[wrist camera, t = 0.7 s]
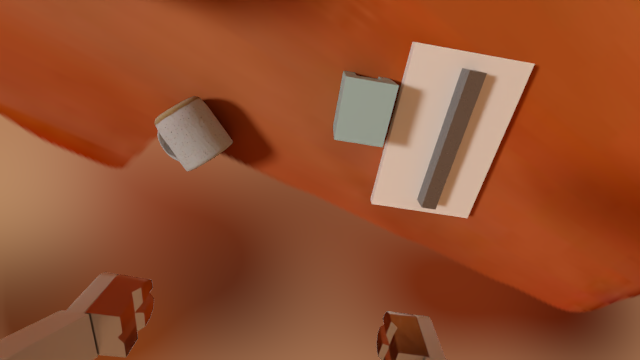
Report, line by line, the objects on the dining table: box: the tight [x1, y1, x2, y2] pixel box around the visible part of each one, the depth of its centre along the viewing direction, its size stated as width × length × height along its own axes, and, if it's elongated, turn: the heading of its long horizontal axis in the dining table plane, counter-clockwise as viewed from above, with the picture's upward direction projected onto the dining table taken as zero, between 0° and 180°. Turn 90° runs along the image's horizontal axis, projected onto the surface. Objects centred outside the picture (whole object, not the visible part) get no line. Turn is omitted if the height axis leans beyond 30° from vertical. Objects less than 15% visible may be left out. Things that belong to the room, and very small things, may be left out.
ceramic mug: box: [155, 96, 233, 171], centre depth 43 cm, size 11×8×8 cm
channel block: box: [333, 71, 399, 147], centre depth 42 cm, size 8×6×6 cm
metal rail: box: [417, 68, 487, 210], centre depth 44 cm, size 20×2×2 cm, turn 171°
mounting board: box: [371, 42, 535, 218], centre depth 46 cm, size 24×16×2 cm, turn 171°
